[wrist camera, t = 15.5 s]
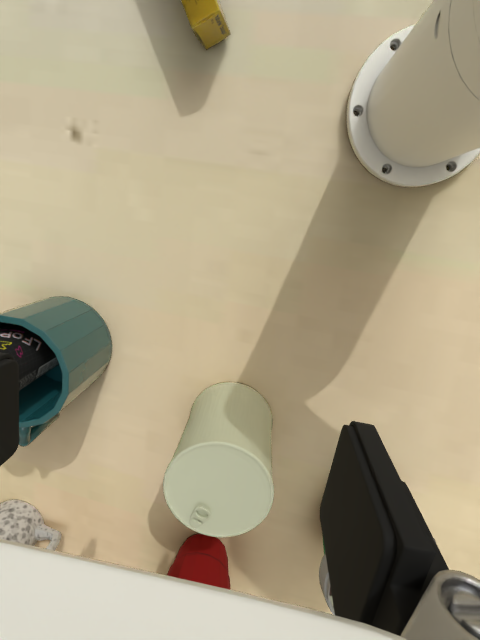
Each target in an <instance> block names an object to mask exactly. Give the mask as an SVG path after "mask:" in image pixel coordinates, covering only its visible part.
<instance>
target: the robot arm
mask: <svg viewBox="0 0 480 640" xmlns="http://www.w3.org/2000/svg"><path fill="white" fill-rule="evenodd" d="M390 47H394V49H395V51H393V50H391V48H390ZM354 111H357V112H358V116H355V115H354V114H353V112H354ZM347 130H348V136H349V140H350V143H351V146H352V148H353V151H354V153H355V155H356V156H357V158H358V159H359V161H360V162H361V164H362V165H363V166H364V167H365V168H366V169H367V170H368V171H369V172H370V173H371V174H373V175H374V176H376V177H377V178H379V179H380V180H382V181H385V182H387V183H390V184H392V185H396V186H402V187H421V186H426V185H431V184H434V183H437V182H440V181H443V180H446V179H448V178H450V177H452V176H454V175H455V174H457V173H459V172H460V171H461V170H462V169H464V168H465V167H466V166H468V165H469V164H470V163H471V162H472V161H473V160H474V159H475V158H476V157H477V156H478V155H479V154H480V0H433V1H432V3H431V4H430V5H429V7H428V8H427V10H426V11H425V12H424V14H423V15H422V16H421V18H420V19H419V20H418V22H417V23H416V25H412V26H408V27H406V28H404V29H402V30H400V31H398V32H396V33H394V34H393V35H392V36H390V37H389V38H388V39H386V40H385V41H384V42H382V43H381V44H380V45H379V46H378V47H377V48H376V49H375V50H374V52H373V53H372V54H371V55H370V56H369V57H368V59H367V60H366V62H365V63H364V65H363V66H362V68H361V69H360V71H359V73H358V75H357V77H356V79H355V81H354V83H353V86H352V89H351V92H350V95H349V100H348V105H347ZM446 165H448V166H449V170H448V171H447V169H446ZM383 167H384V168H386V172H385V173H383V172H382V168H383ZM18 445H19V365H18V362H17V361H15V360H14V357H13V356H12V355H11V354H6V353H1V352H0V466H1V465H2V464H3V463H4V462H5V461H6V460H8V459H9V458H10V457H11V456H12V455H13V454H14V453H15V451H16V450H17V448H18ZM320 521H321V527H322V534H323V541H324V547H325V554H326V560H327V567H328V573H329V580H330V586H331V593H332V599H333V606H334V612H335V615H332V614H328V613H325V612H321V611H317V610H313V609H310V608H306V607H302V606H298V605H294V604H289V603H285V602H281V601H276V600H272V599H267V598H263V597H259V596H255V595H251V594H247V593H243V592H238V591H234V590H229V589H225V588H220V587H216V586H212V585H207V584H203V583H198V582H194V581H189V580H185V579H180V578H176V577H172V576H167V575H163V574H158V573H154V572H149V571H145V570H140V569H136V568H132V567H127V566H123V565H118V564H114V563H109V562H104V561H100V560H95V559H91V558H86V557H82V556H77V555H73V554H68V553H63V552H59V551H54V550H50V549H45V548H41V547H36V546H31V545H27V544H22V543H18V542H13V541H8V540H4V539H0V640H480V580H478V579H477V578H475V577H473V576H471V575H468V574H466V573H463V572H461V571H455V570H449V569H448V567H447V565H446V563H445V561H444V559H443V557H442V555H441V553H440V551H439V549H438V547H437V545H436V543H435V541H434V539H433V537H432V535H431V533H430V531H429V529H428V527H427V525H426V523H425V521H424V519H423V517H422V515H421V513H420V511H419V509H418V507H417V505H416V503H415V501H414V499H413V497H412V495H411V493H410V491H409V489H408V487H407V485H406V484H405V482H403V481H401V480H400V477H399V475H398V473H397V471H396V469H395V467H394V465H393V463H392V461H391V459H390V457H389V455H388V453H387V451H386V449H385V447H384V445H383V443H382V441H381V438H380V436H379V434H378V432H377V430H376V428H375V427H374V425H370V424H365V423H360V422H355V421H352V422H351V423H350V425H349V426H348V425H344V426H343V427H342V430H341V434H340V437H339V441H338V444H337V448H336V452H335V455H334V459H333V462H332V466H331V470H330V473H329V477H328V480H327V484H326V488H325V491H324V495H323V498H322V502H321V507H320Z"/></svg>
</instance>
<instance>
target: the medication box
mask: <svg viewBox="0 0 480 640" xmlns="http://www.w3.org/2000/svg"><path fill="white" fill-rule="evenodd" d="M181 1H182V4H183V7H184V9H185V12H186V15H187V17H188V20H189V23H190V25H191V28H192V30H193V32H194V33H195V35H196V37H197V38H198V40H199V41H200V43H201V44H202V45H203V46H204V47H205V48H206V50H207V49H208V48H210V47H212V46H213V45H215V44H217V43H219V42H220V41H222V40H223V39H225V38H226V37H227V36H229V35H230V30H229V27H228V24H227V21H226V18H225V16H224V13H223V10H222V7H221V4H220V1H219V0H181Z"/></svg>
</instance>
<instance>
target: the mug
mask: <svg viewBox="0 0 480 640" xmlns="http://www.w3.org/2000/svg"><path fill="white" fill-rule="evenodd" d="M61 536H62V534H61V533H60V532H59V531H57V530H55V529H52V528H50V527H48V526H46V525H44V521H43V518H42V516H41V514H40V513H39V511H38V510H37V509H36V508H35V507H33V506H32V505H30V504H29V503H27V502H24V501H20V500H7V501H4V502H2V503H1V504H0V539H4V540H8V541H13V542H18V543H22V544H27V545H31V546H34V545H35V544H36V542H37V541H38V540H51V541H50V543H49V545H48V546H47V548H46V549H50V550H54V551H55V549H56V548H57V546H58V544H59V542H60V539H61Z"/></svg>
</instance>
